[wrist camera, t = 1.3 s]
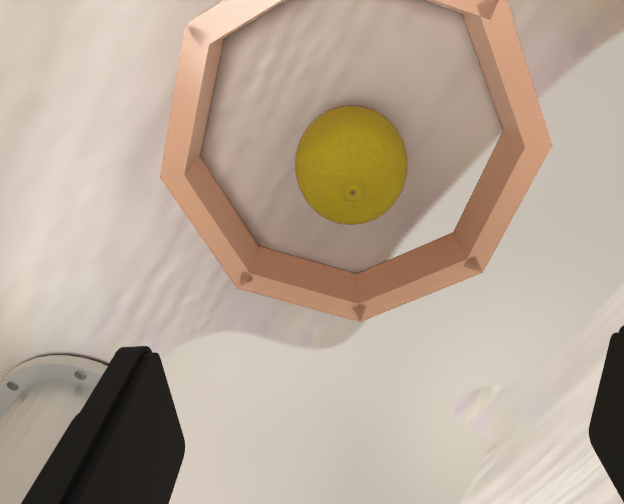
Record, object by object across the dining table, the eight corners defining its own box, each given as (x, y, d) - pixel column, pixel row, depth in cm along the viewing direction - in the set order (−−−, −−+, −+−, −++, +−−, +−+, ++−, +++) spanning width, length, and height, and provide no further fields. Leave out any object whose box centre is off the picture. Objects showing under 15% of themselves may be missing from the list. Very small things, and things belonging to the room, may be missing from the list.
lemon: (381, 78, 26) (399, 109, 19) (407, 172, 29) (431, 230, 22) (286, 112, 27) (269, 153, 20) (318, 200, 30) (313, 264, 23)
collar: (432, 312, 33) (443, 344, 30) (164, 236, 31) (145, 262, 28) (579, 26, 25) (614, 30, 22) (225, -101, 23) (208, -116, 20)
